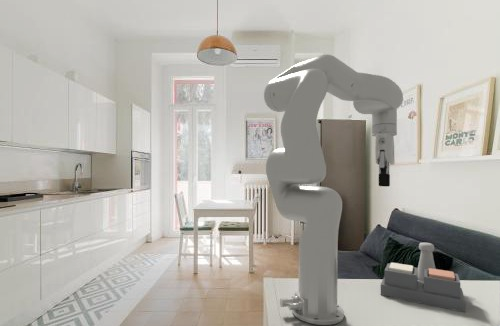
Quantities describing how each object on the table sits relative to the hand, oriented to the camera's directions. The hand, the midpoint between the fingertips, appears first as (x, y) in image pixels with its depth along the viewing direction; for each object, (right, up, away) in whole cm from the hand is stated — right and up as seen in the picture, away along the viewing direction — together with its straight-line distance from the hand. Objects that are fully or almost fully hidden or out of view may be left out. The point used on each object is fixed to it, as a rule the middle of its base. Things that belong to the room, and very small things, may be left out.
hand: (384, 186), depth 99 cm
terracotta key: (+9, -27, -15) cm, 32 cm away
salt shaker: (+12, -31, -3) cm, 34 cm away
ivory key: (0, -27, -10) cm, 29 cm away
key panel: (+5, -31, -13) cm, 34 cm away
